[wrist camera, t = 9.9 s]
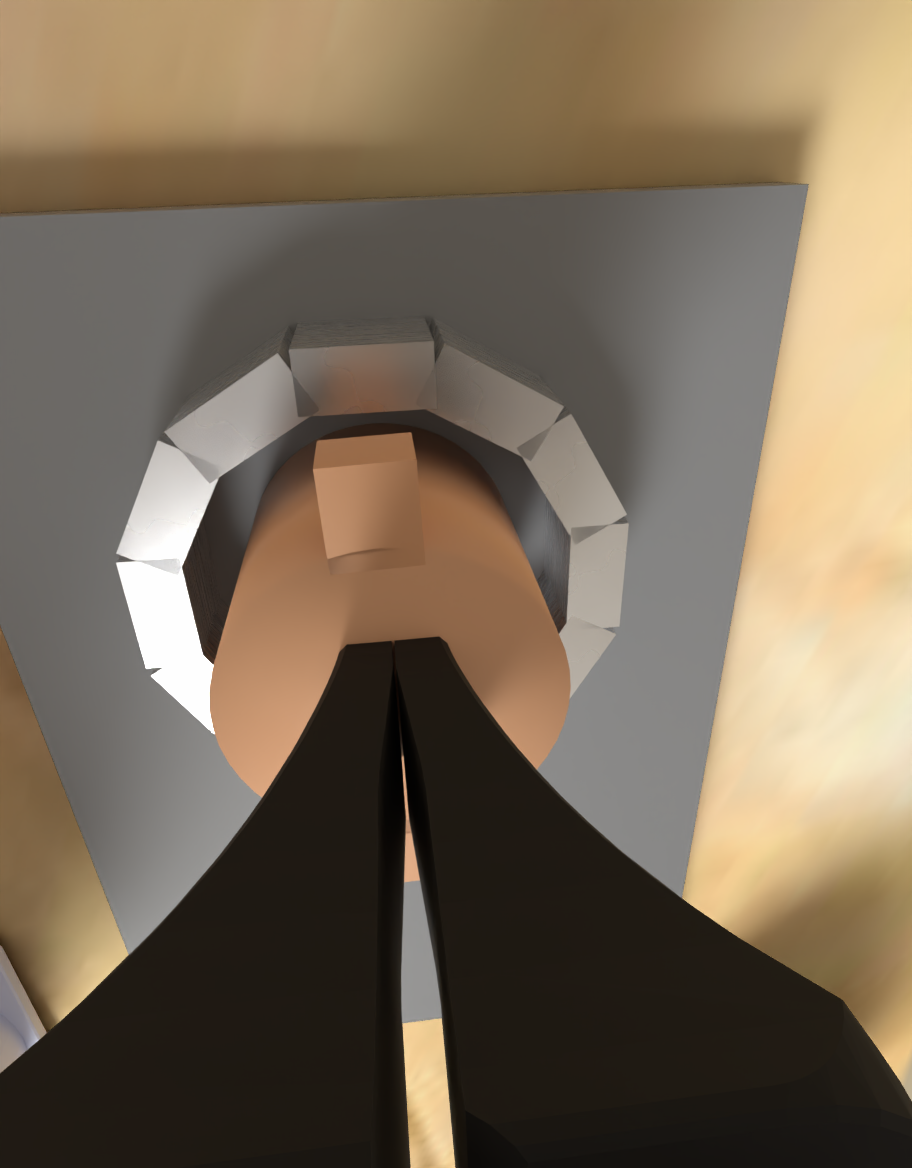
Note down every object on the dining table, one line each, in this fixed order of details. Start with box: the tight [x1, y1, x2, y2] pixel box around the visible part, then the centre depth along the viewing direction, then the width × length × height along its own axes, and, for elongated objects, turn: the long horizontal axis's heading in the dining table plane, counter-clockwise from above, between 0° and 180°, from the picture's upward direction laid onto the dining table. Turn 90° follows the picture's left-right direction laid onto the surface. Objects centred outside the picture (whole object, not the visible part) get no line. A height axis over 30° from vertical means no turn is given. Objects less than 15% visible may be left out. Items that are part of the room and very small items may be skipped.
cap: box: [209, 423, 571, 882], centre depth 13 cm, size 5×7×5 cm
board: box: [0, 182, 809, 1023], centre depth 18 cm, size 15×22×1 cm
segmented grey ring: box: [116, 316, 629, 734], centre depth 14 cm, size 8×8×2 cm
